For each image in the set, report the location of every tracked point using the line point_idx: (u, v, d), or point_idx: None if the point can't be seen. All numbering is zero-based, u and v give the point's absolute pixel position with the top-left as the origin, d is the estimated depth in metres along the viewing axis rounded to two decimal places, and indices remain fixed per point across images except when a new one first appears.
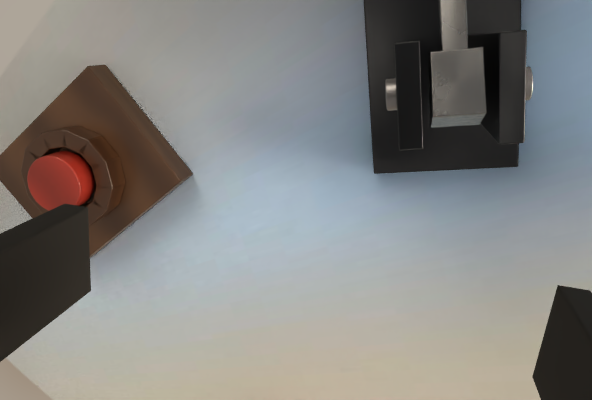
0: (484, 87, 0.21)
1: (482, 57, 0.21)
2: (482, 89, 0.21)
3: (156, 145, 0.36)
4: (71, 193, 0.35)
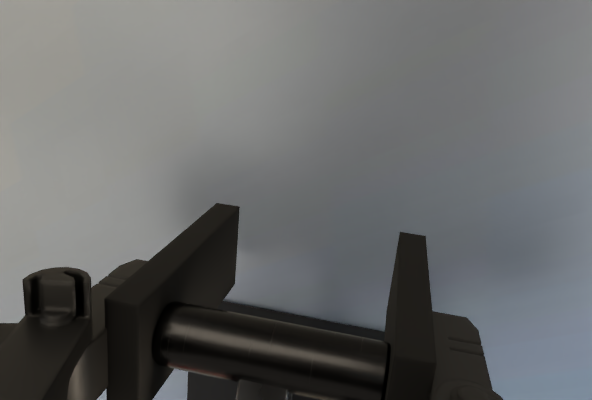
0: None
1: None
2: None
3: None
4: None
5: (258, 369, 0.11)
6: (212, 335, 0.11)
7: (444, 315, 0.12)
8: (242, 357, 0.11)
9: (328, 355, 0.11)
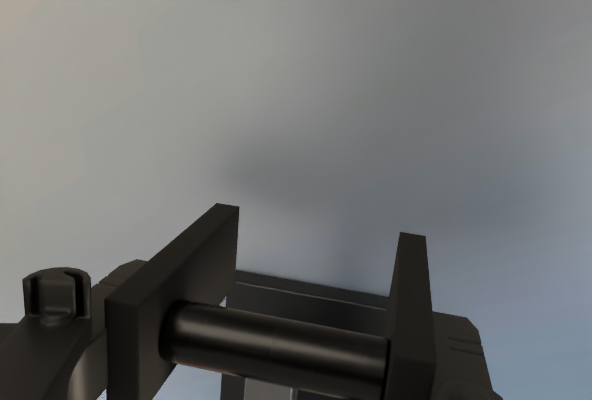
0: None
1: None
2: None
3: None
4: None
5: (261, 374, 0.11)
6: (214, 344, 0.11)
7: (444, 316, 0.12)
8: (245, 365, 0.11)
9: (327, 365, 0.11)
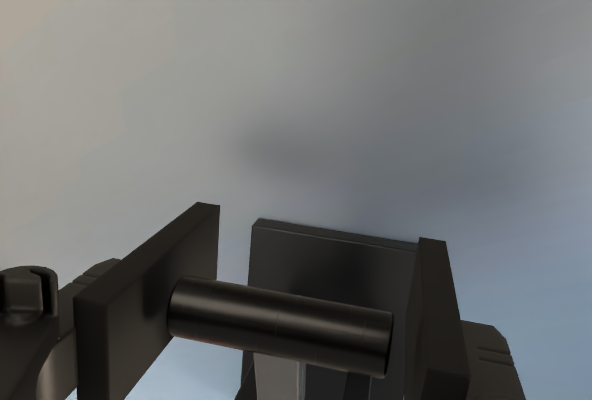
0: None
1: None
2: None
3: None
4: None
5: (268, 352, 0.12)
6: (219, 328, 0.11)
7: (471, 324, 0.12)
8: (251, 346, 0.11)
9: (329, 349, 0.11)
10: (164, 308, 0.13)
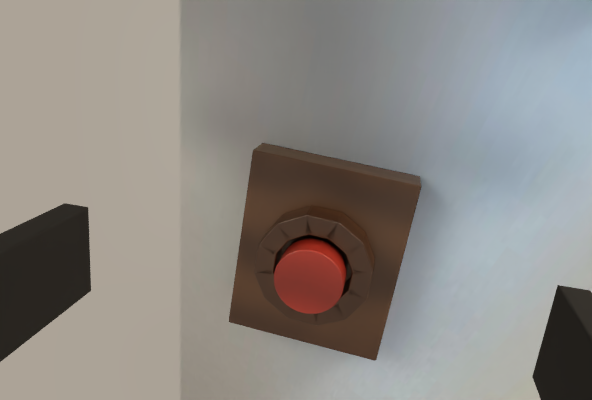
0: None
1: None
2: None
3: (369, 173, 0.30)
4: (331, 277, 0.29)
5: None
6: None
7: None
8: None
9: None
10: None
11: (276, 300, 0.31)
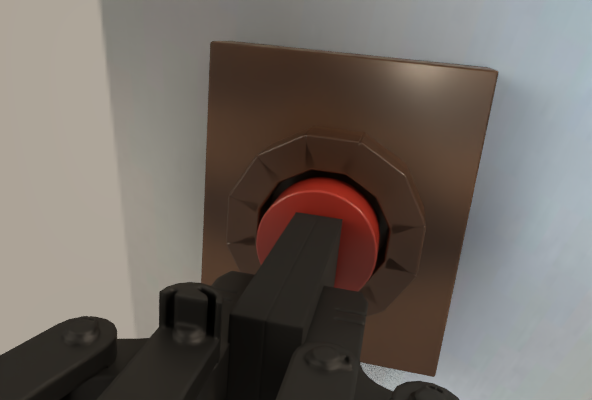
0: None
1: None
2: None
3: (405, 60, 0.18)
4: (354, 237, 0.16)
5: None
6: None
7: (341, 290, 0.13)
8: None
9: None
10: None
11: None
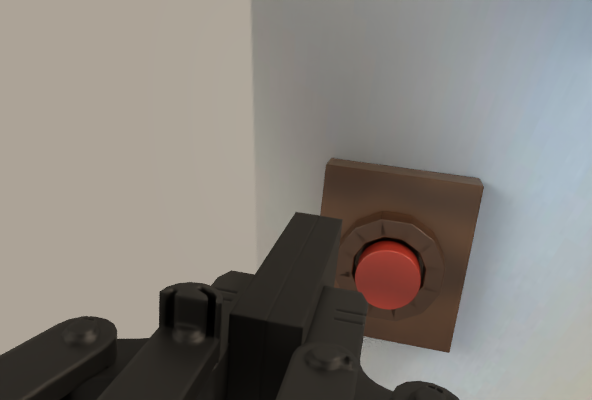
0: None
1: None
2: None
3: (434, 177, 0.33)
4: (408, 274, 0.32)
5: None
6: None
7: (341, 290, 0.13)
8: None
9: None
10: None
11: None
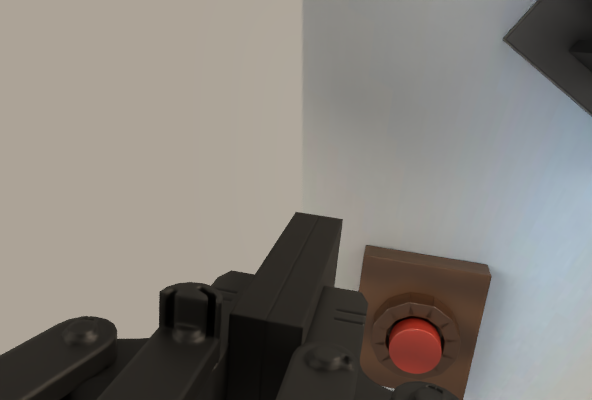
0: None
1: None
2: None
3: (451, 267, 0.41)
4: (432, 347, 0.40)
5: None
6: None
7: (341, 290, 0.13)
8: None
9: None
10: None
11: (387, 363, 0.43)
